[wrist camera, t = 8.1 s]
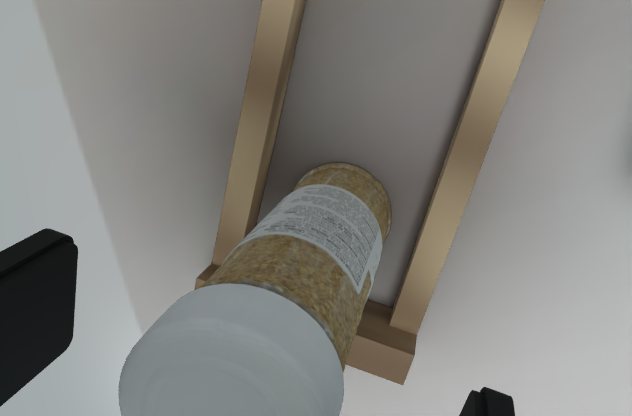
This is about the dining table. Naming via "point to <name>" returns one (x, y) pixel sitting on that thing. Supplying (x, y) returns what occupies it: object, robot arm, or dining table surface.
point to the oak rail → (449, 195)
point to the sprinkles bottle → (270, 311)
